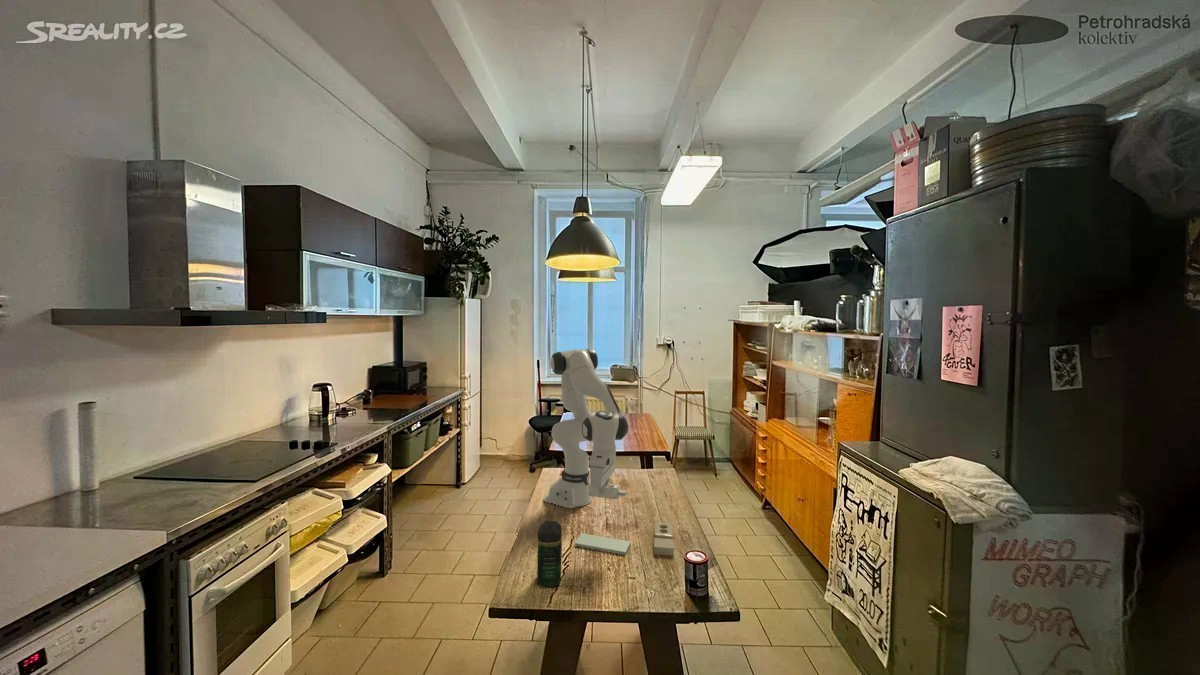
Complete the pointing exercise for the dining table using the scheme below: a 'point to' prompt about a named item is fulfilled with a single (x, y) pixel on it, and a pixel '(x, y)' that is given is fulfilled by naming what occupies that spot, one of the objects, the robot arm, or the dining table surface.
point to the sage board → (603, 543)
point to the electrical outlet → (663, 539)
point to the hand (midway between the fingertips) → (603, 491)
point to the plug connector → (607, 491)
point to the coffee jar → (549, 554)
